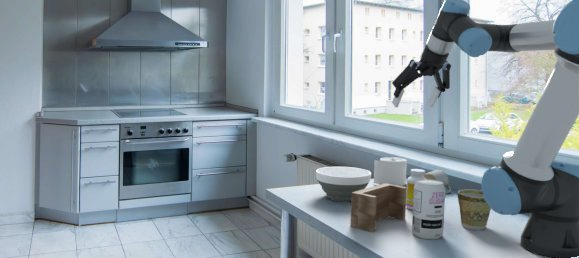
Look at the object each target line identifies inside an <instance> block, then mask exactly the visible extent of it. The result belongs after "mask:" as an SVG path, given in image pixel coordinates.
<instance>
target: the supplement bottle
mask: <svg viewBox="0 0 579 258" xmlns="http://www.w3.org/2000/svg"><path fill="white" fill-rule="evenodd" d="M425 174H426V170H425V169H419V168H411V169H410V176H408V178H406V187H407V191H406V209H408V210H411V211H413V201H414V186H415V184H416V182H417V180H422V179H426V178H424V175H425Z"/></svg>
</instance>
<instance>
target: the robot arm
mask: <svg viewBox="0 0 579 258" xmlns="http://www.w3.org/2000/svg"><path fill="white" fill-rule="evenodd" d="M470 10H471V5H470V4H469V3H468V2H467V1H465V0H444V1H443V4H442V5H441V8H440V9H439V12H438V14H437V17H436V20H435V22H434V24H433V27H432V28H431V31H430V34H429V36H428V39H427V41H426V44H425V46H424V48H423V49H422V52H421V57H420V60H419V61H416V60H414V59H410V61H409V63H408V64H407V66H406V67H405V68H404V69H403V70H402V71H401V72H400V73H399V75H398V76H397V77H396V78H394V80H393V81H392V82H391V84H392V85H393V87H394V88H395V90H394V92H393V99H392V101H391V103H392V105H393V106H394V107H395V108H398V107H399V105H400V102H401V100H402V98H403V95H404V94H405V90H404V89H405V88H407V87H408V86H409V85H411V84H412V83H413V82H414V81H417V79H418V78H422V77H427V76H428V77H433V78H434V79H433V80H434V81H435V84H436V86H434V87H433V89H432V92H431V93H430V96H429V98H428V100H427V104H428V105H429V107H430V108H434V106H435V104H436V103H437V100H438V99H439V98H440V96H441V94H442V93H444V92H446V90H448V89H450V87H451V84H450V82H451V81H450V79H451V78H450V77H451V75H450V71H451V68H452V64H450V62H449V61H448V60H447V59H448V58H449V55H450V53H451V52H452V49H453V47H454V45H455V44H456V45H457V47H459V49H460V50H461V52H464V54H467V55H468V56H469V57H472V58H479V57H480V56H484V55H486V54H487V53H488V52H496V53H497V52H499V53H512V54H513V53H520V52H533V51H534V52H536V51H537V52H538V51H553V52H554V56H555V58H556V60H557V61H556V62H555V63H556V64H554V67H553V69H552V71H551V73H550V76H549V78H547V82H546V84H545V85H544V88H543V89H542V92H541V94H540V96H539V98H538V100H537V101H536V104H535V106H534V108H533V111H532V112H531V114H530V116H529V119H528V121H526V124H525V127H524V129H523V131H522V132H521V135H520V136H519V139H518V141H517V143H516V145H515V148H514V149H512V150H509V151H507V152H505V153H504V154H503V156H502V158H501V161H500V163H499V164H498V166H492V167H491V168H488V169H486V170H485V172H483V175H482V177H481V183H480V185H481V191H482V192H483V196H484V199H485V201H486V202H487V204H488V205H489V207H490V208H491V210H492V211H493V212H495V213H497V214H498V215H502V216H503V215H504V216H508V215H510V216H517V215H523V214H529V216H528V220H527V222H526V224H525V226H524V227H523V231H522V232H521V235H520V246H521V247H522V248H523V249H525V250H527V251H529V252H530V253H531V252H532V253H533V254H537V255H540V254H541V256H545V257H549V256H550V257H549V258H554V257H560V258H571V257H577V256H579V164H578V163H574V162H569V161H564V160H559V159H557V160H556V157H557V155H558V154H559V151H560V150H561V148H562V146H563V145H564V143H565V141H566V138H567V137H568V135H569V134H570V132H571V131H572V128H573V126H574V124H575V123H576V121H577V119H578V117H579V0H571V1H569V2H568V3H567V4H565V5H564V6H563V7H562V8H561V10H560V11H559V12H558V14H557V16H556V17H555V19H552V20H541V21H534V22H523V23H514V24H513V23H512V24H496V23H495V24H493V23H479V22H475V21H474V19H472V18H471V17H470V16H469V14H470ZM440 70H441V71H442V72H441V73H440ZM441 75H442V79H441Z"/></svg>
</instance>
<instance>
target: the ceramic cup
mask: <svg viewBox="0 0 579 258" xmlns="http://www.w3.org/2000/svg"><path fill="white" fill-rule="evenodd" d="M457 201H458V205H459V206H458V207H459V214H460V223H461V226H462V227H463V228H464V229H467V230H476V231H482V230H485V229H486V228H487V225H488V221H489V217H490V213H491V210H492V209H491V208H490V207H489V205H488V204H487V202H486V201H485V199H484V196H483V192H482V189H470V188H469V189H460V190H457Z"/></svg>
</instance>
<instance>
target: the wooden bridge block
mask: <svg viewBox="0 0 579 258" xmlns="http://www.w3.org/2000/svg"><path fill="white" fill-rule="evenodd" d="M406 192H407V186H397V185H392V184H387V183H384V184H377V185H374V186H370V187H365V189H362V190H359V191H355V192H352V196H351V201H350V223H349V224H350V225H349V226H350V227H352V228H356V229H359V230H362V231H367V232H369V233H374V232H375V231H376V224H377V223H376V222H379V221H381V220H383V219H386V218H392V219H396V220H400V221H404V220H406V211H407V207H406Z"/></svg>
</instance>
